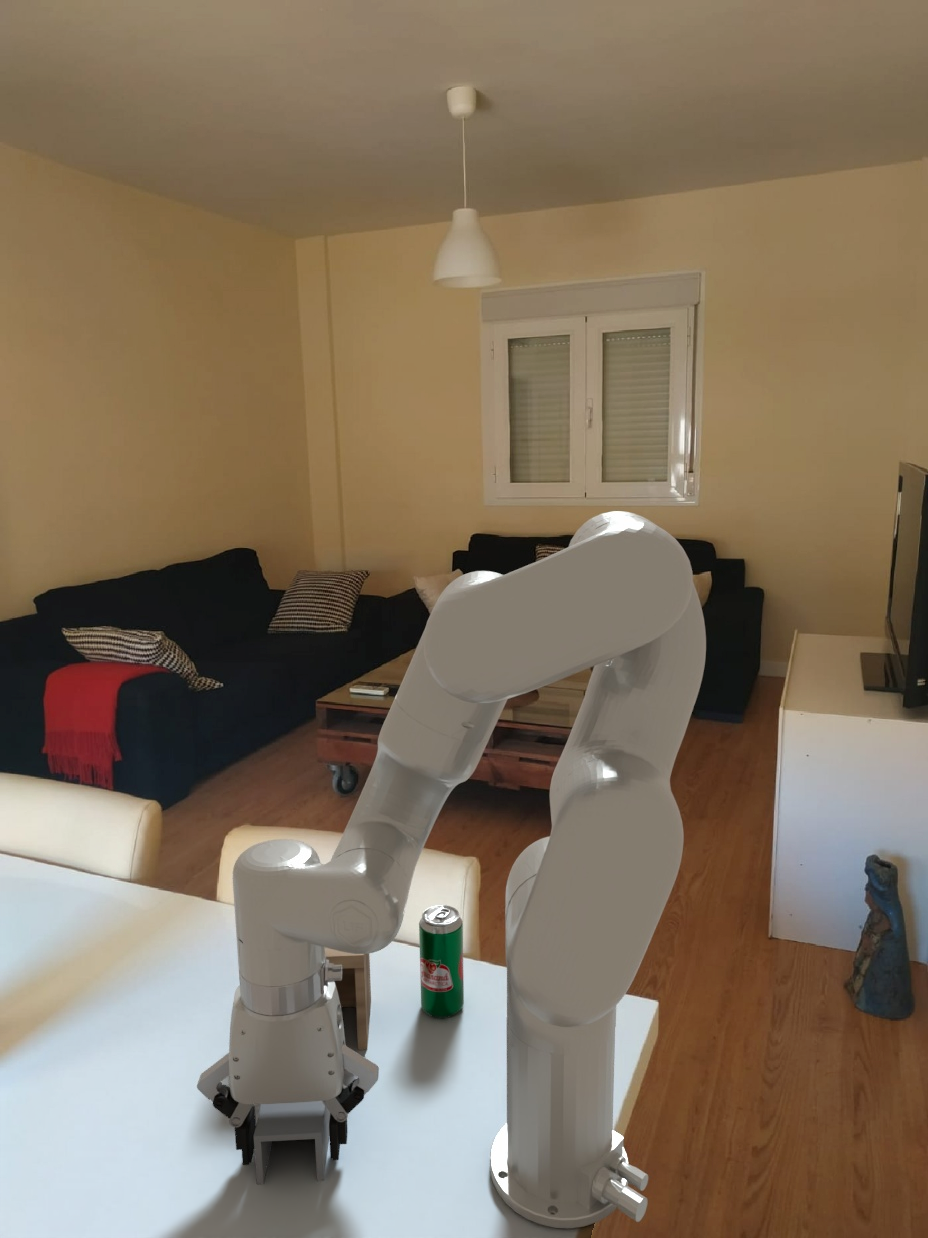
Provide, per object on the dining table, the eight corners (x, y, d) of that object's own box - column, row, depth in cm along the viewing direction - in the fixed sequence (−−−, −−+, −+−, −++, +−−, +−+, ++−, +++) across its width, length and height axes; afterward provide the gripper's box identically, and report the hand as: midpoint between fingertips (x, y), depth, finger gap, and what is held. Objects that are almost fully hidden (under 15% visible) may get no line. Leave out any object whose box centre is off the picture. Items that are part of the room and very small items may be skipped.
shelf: (367, 1049, 95) (363, 955, 92) (257, 1055, 94) (250, 960, 92) (371, 1000, 103) (367, 913, 101) (269, 1005, 102) (264, 917, 100)
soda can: (413, 1013, 101) (410, 919, 98) (434, 989, 105) (432, 899, 103) (450, 1026, 98) (449, 930, 96) (471, 1001, 103) (470, 909, 100)
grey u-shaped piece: (323, 1180, 78) (321, 1133, 77) (256, 1184, 77) (253, 1136, 76) (337, 1070, 91) (335, 1029, 90) (280, 1073, 91) (278, 1031, 90)
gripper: (383, 951, 80) (388, 1115, 84) (194, 959, 80) (207, 1124, 83) (379, 1002, 73) (385, 1179, 77) (172, 1011, 72) (187, 1190, 76)
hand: (293, 1149), depth 80 cm, fingers open, 7 cm apart
